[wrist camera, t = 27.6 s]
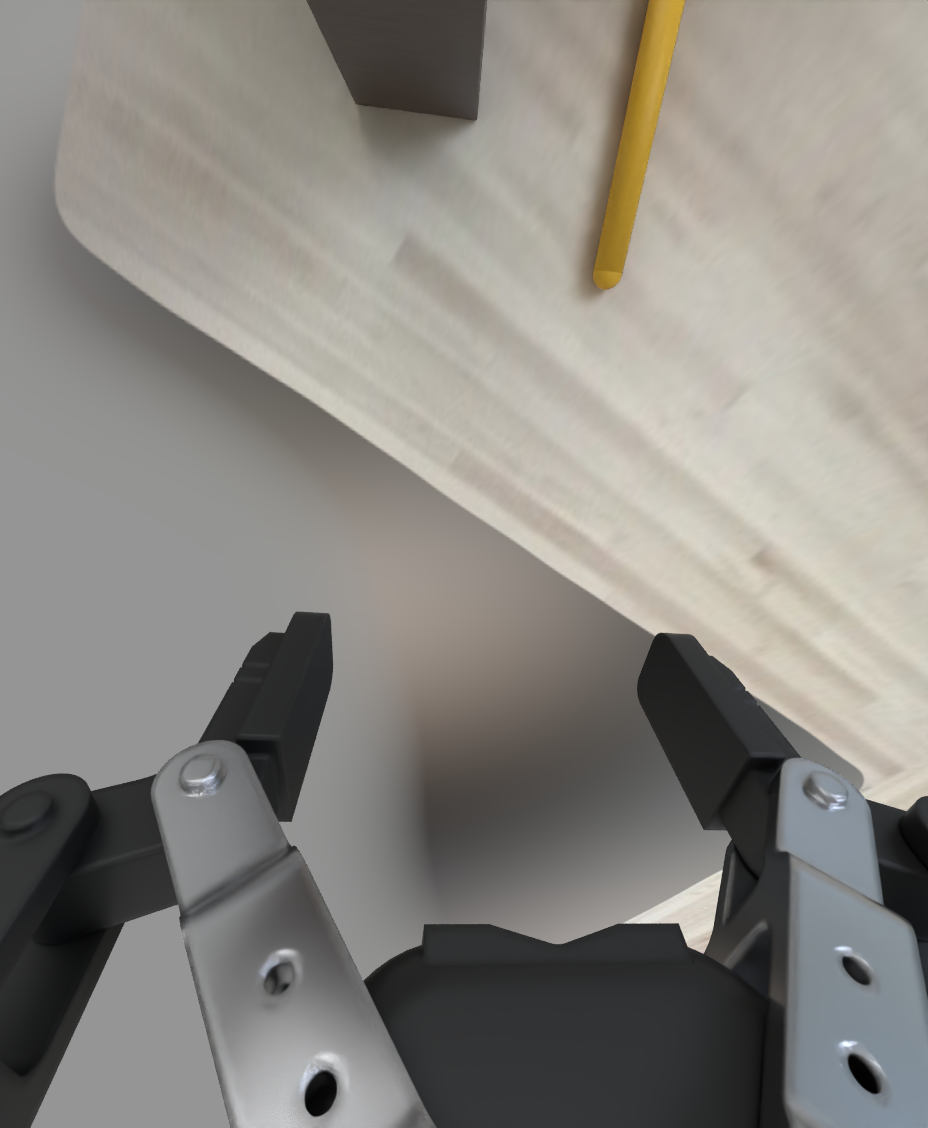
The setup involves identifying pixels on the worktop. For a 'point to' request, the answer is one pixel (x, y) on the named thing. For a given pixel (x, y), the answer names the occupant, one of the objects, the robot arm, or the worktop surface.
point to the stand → (408, 52)
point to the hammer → (637, 137)
